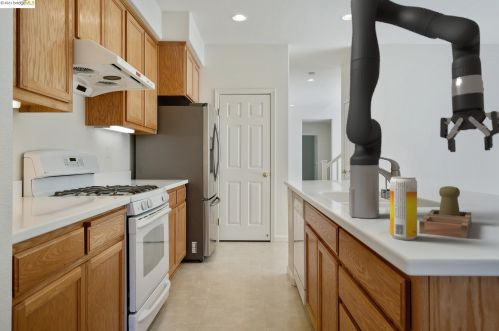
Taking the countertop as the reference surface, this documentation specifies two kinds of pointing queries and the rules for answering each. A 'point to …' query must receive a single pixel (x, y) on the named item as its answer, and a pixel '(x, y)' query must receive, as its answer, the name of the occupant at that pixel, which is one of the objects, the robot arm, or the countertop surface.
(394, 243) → the countertop surface
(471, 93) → the robot arm
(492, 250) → the countertop surface
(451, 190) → the cork
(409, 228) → the beer can
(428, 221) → the rail
